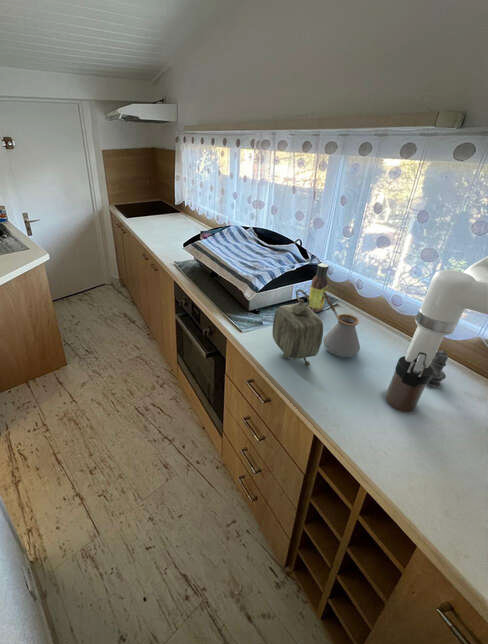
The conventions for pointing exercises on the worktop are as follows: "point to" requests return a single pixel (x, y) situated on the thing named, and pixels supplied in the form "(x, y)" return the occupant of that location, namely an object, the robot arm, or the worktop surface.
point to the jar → (403, 394)
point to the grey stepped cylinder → (438, 368)
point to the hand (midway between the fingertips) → (411, 375)
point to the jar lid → (404, 366)
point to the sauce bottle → (318, 288)
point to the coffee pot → (342, 335)
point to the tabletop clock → (297, 330)
